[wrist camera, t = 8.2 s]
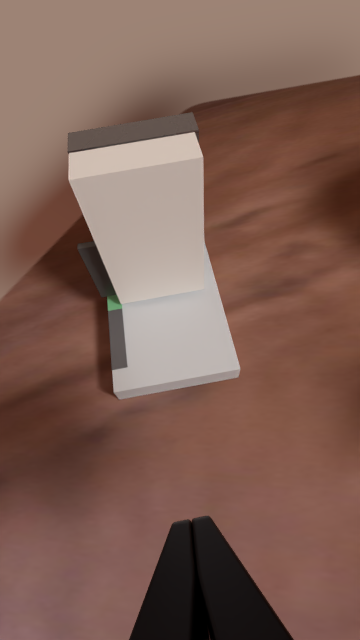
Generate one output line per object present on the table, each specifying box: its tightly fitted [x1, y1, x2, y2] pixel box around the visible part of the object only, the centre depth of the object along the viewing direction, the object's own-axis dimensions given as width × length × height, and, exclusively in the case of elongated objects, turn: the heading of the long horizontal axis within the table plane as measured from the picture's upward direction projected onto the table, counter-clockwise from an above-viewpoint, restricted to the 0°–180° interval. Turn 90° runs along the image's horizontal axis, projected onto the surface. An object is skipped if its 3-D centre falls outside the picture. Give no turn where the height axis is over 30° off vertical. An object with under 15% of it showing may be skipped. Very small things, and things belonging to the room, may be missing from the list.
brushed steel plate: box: [68, 112, 199, 154], centre depth 23 cm, size 2×8×8 cm, turn 100°
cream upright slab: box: [69, 132, 204, 304], centre depth 20 cm, size 4×7×10 cm, turn 100°
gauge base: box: [107, 242, 240, 400], centre depth 24 cm, size 14×8×2 cm, turn 10°
